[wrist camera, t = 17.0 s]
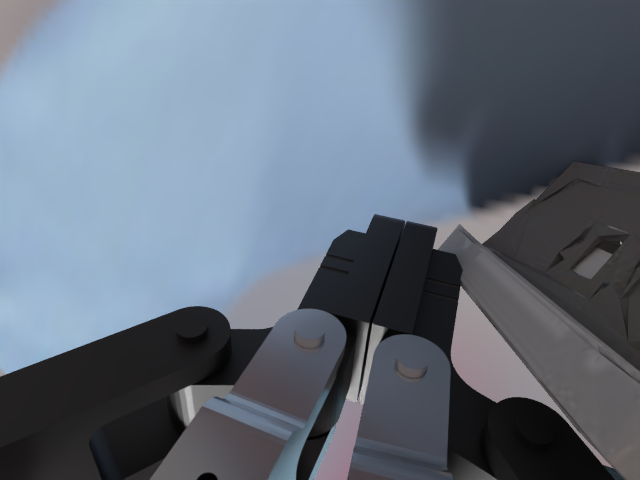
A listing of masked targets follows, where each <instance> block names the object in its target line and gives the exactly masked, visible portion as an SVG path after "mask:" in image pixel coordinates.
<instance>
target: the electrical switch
mask: <svg viewBox="0 0 640 480" xmlns="http://www.w3.org/2000/svg"><path fill="white" fill-rule="evenodd" d="M620 241H621V242H622V244H620ZM438 250H440V251H445V252H449V253H453V254H456V256H457V258H458V260H459V263H460V265H461V267H462V269H463V272H462V275H461V279H460V280H461V286H462V287H463V289H464V290H465V291H466V292H467V294H468V295H469V296H470V297H471V299H472V300H473V301H474V302H475V303H476V305H477V306H478V307H479V309H480V310H481V311H482V312H483V314H484V315H485V316H486V317H487V318H488V320H489V321H490V322H491V323H492V325H493V326H494V327H495V328H496V330H497V331H498V332H499V333H500V335H501V336H502V337H503V338H504V340H505V341H506V342H507V343H508V345H509V346H510V347H511V348H512V350H513V351H514V352H515V353H516V355H517V356H518V357H519V358H520V359H521V361H522V362H523V363H524V365H526V367H527V368H528V369H529V371H530V372H531V373H532V374H533V376H534V377H535V378H536V379H537V381H538V382H539V383H540V384H541V386H542V387H543V388H544V389H545V391H546V392H547V393H548V394H549V396H550V397H551V398H552V399H553V400H554V402H555V403H556V404H557V405H558V407H559V408H560V409H561V410H562V412H563V413H564V414H565V415H566V417H567V418H568V419H569V420H570V422H571V423H572V424H573V425H574V427H575V428H576V429H577V430H578V431H579V432H580V433H581V434H582V435H583V436H584V437H585V439H586V440H587V441H588V442H589V443H590V444H591V445H592V446H593V447H594V448H595V449H596V450H597V451H598V452H599V453H600V454H601V455H602V456H603V457H604V458H605V459H606V461H607V462H608V463H609V464H610V465H611V466H612V467H613V468H614V469H615V470H616V471H617V472H618V473H619V474H620V475H621V476H622V477H623V478H624V479H625V480H640V172H635V171H629V170H623V169H617V168H611V167H605V166H599V165H593V164H587V163H581V162H576V161H574V162H573V163H572V164H571V165H570V166H569V167H568V168H567V169H566V170H565V171H564V172H563V173H562V174H561V175H560V176H559V177H558V178H557V179H556V180H555V181H554V182H553V183H552V184H551V185H550V186H549V187H548V188H547V189H546V190H545V191H544V192H543V193H542V194H541V195H540V196H539V197H538V198H537V199H536V200H535V199H534V200H532V201H531V202H530V203H528V204H527V205H526V206H525V207H523V208H522V209H521V210H519V211H518V212H517V213H515V215H514V216H513V217H512V218H511V219H510V220H509V221H508V222H507V223H506V224H505V225H504V226H503V227H502V228H501V229H500V230H499V231H498V232H497V233H495V234H494V235H493V236H492V237H491V238H489V239H488V240H487V241H485V242H484V243H483V244H481V243H480V242H478V241H477V240H476V239H475V238H474V237H473V236H472V235H471V234H469V233H468V232H467V231H466V230H465V229H464V228H463V227H462V226H461V225H460V224H459V225H458V227H457V228H456V229H455V230H454V231H453V233H452V234H451V235H450V236H449V237H448V238H447V240H446V241H445V242H444V243H443V244H442V245H441V247H440V248H439V249H438Z"/></svg>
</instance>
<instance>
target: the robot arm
mask: <svg viewBox="0 0 640 480" xmlns="http://www.w3.org/2000/svg"><path fill="white" fill-rule="evenodd" d="M404 227H405V228H404ZM436 233H437V228H436V227H432V226H427V225H423V224H418V223H413V222H409V221H407V222H406V225H405V221H404V220H399V219H395V218H390V217H386V216H381V215H377V214H375V215H374V216H373V218H372V221H371V223H370V225H369V228H368V230H367V232H366V234H365V233H361V232H357V231H352V230H347V231H346V232H344V233H343V234H341V235H340V236H338V237H337V238H336V239H334V240H333V242H332V244H331V246H330V248H329V250H328V252H327V254H326V256H325V257H324V259H323V261H322V263H321V266H320V268H319V269H318V271H317V273H316V275H315V277H314V279H313V281H312V283H311V285H310V286H309V288H308V290H307V292H306V294H305V296H304V298H303V300H302V302H301V304H300V306H299V308H298V309H297V310H295V311H292V312H290V313H287V314H286V315H284V316H283V317H282V318H280V319H279V321H278V322H277V323H276V324H275V326H274V327H271V328H266V329H230V324H229V322H228V320H227V318H226V317H225V316H224V315H223V314H222V313H220V312H219V311H217V310H215V309H212V308H208V307H201V306H194V307H187V308H182V309H179V310H176V311H174V312H171V313H168V314H166V315H163V316H160V317H158V318H155V319H152V320H150V321H147V322H145V323H142V324H139V325H137V326H134V327H131V328H129V329H126V330H123V331H121V332H118V333H115V334H113V335H110V336H107V337H105V338H102V339H99V340H97V341H94V342H91V343H89V344H86V345H83V346H81V347H78V348H75V349H73V350H70V351H67V352H65V353H62V354H59V355H57V356H54V357H51V358H49V359H46V360H43V361H41V362H38V363H35V364H33V365H30V366H27V367H25V368H22V369H19V370H17V371H14V372H11V373H9V374H6V375H4V376H1V377H0V480H314V478H315V475H316V473H317V471H318V468H319V466H320V464H321V462H322V459H323V457H324V455H325V453H326V450H327V448H328V446H329V443H330V441H331V439H332V436H333V434H334V431H335V426H336V423H337V421H338V419H339V417H340V414H341V411H342V408H343V405H344V402H345V400H349V401H352V402H355V403H357V400H358V397H359V393H360V390H361V387H362V390H361V396H360V404H363V409H362V413H361V418H360V423H359V429H358V433H357V438H356V443H355V447H354V450H353V454H352V459H351V463H350V469H349V473H348V478H347V480H615V479H614V478H613V477H612V475H611V474H610V473H609V472H608V471H607V470H606V468H605V467H604V466H603V465H602V464H601V463H600V461H599V460H598V459H597V458H596V457H595V455H594V454H593V453H592V452H591V450H590V449H589V448H588V447H587V446H586V445H585V443H584V442H583V441H582V440H581V439H580V438H579V436H578V435H577V434H576V433H575V432H574V430H573V429H572V428H571V427H570V425H569V424H568V423H567V422H566V421H565V420H564V419H563V418H562V417H561V416H560V415H559V414H558V413H557V412H556V411H554V410H553V409H551V408H550V407H548V406H546V405H544V404H543V403H541V402H538V401H535V400H532V399H528V398H521V397H512V398H507V399H504V400H502V401H500V402H498V403H496V402H494V401H492V400H491V399H489V398H487V397H485V396H484V395H482V394H480V393H479V392H477V391H475V390H474V389H472V388H471V387H470V386H469V385H467V384H466V383H465V382H464V381H463V380H462V379H461V378H460V376H459V375H458V374H457V372H456V370H455V368H454V367H453V364H452V361H451V344H452V338H453V331H454V325H455V318H456V311H457V306H458V299H459V291H460V286H461V280H460V279H461V275H462V272H463V269H462V267H461V265H460V263H459V260H458V258H457V256H456V254H453V253H449V252H445V251H440V250H436V249H433V245H434V241H435V237H436Z"/></svg>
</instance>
